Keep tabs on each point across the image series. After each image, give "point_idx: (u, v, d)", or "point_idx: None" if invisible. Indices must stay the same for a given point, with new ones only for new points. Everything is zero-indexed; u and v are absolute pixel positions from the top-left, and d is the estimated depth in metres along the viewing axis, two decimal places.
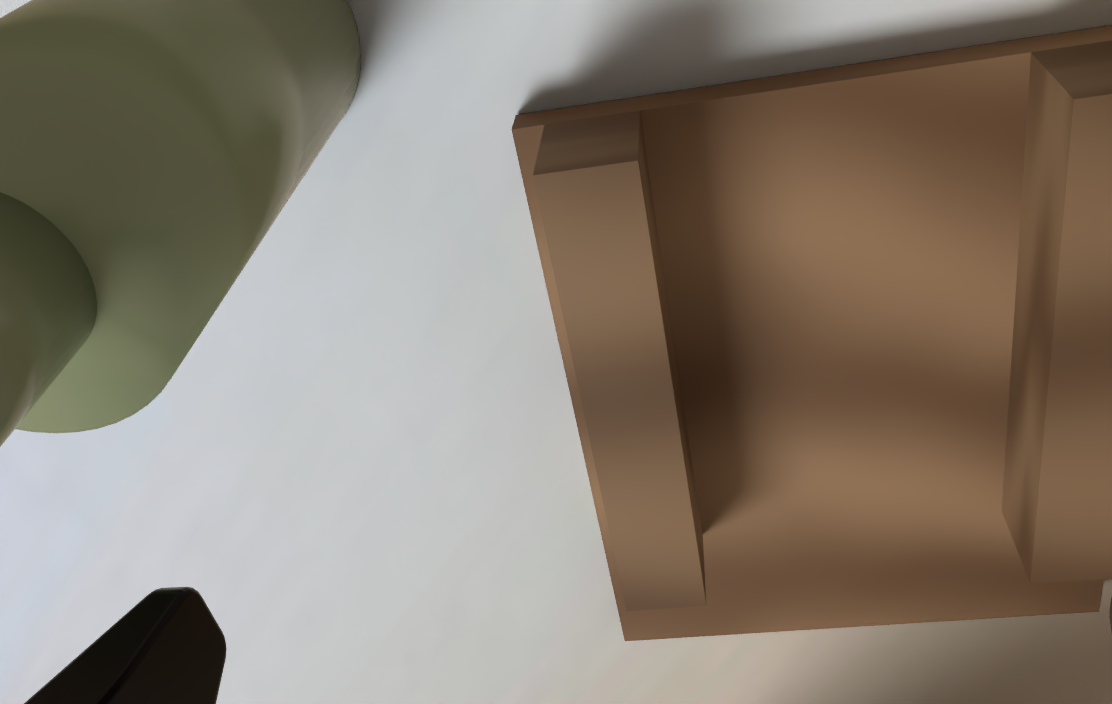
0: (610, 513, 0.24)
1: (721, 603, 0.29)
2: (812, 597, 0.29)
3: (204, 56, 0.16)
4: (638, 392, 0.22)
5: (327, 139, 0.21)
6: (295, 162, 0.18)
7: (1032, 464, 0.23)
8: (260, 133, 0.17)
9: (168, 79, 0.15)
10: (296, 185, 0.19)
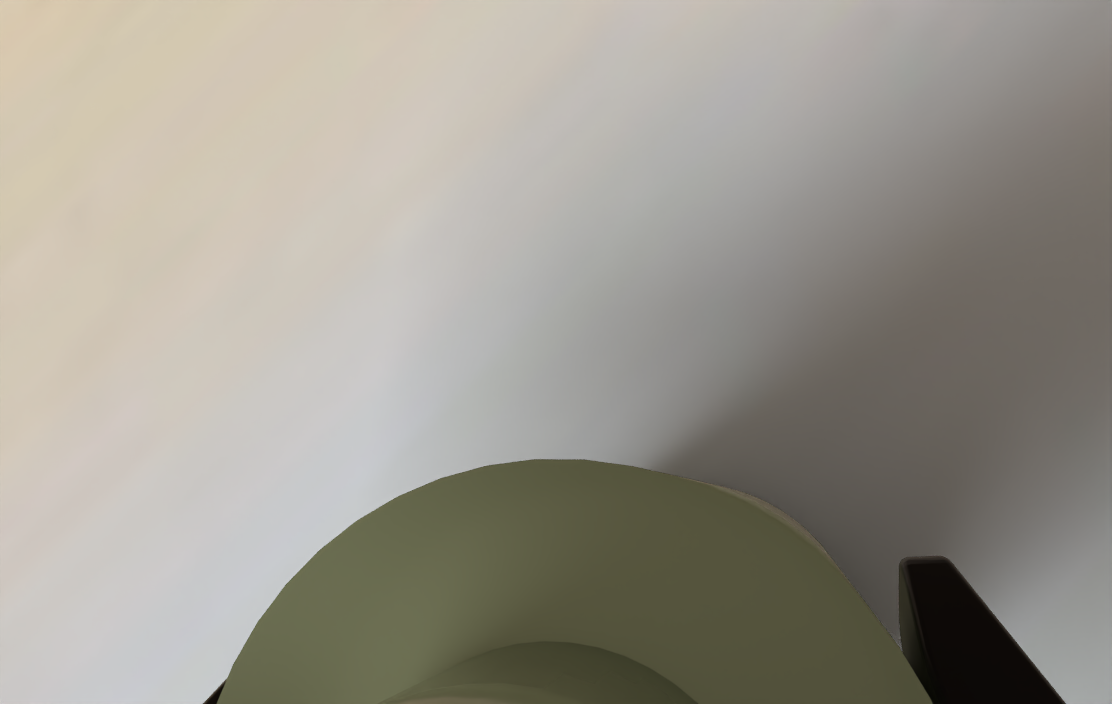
0: None
1: None
2: None
3: None
4: None
5: None
6: None
7: None
8: None
9: None
10: None
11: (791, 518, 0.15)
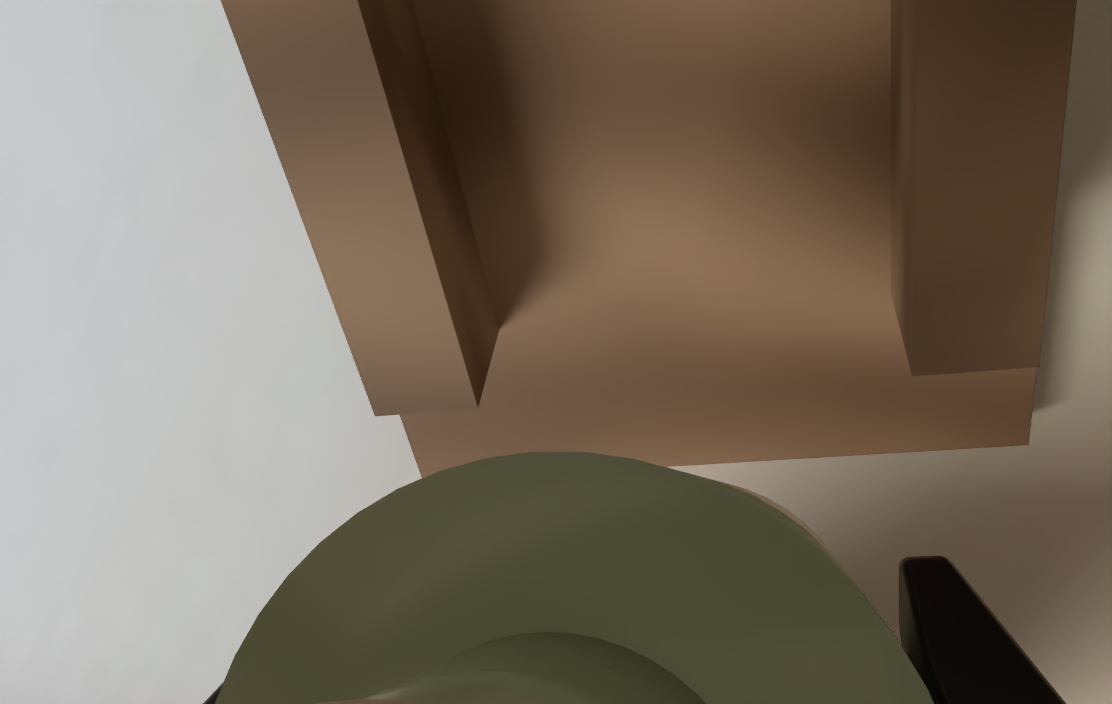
0: (326, 265, 0.18)
1: (536, 429, 0.23)
2: (651, 421, 0.22)
3: None
4: (326, 63, 0.15)
5: None
6: None
7: (909, 190, 0.16)
8: None
9: None
10: None
11: (792, 514, 0.15)
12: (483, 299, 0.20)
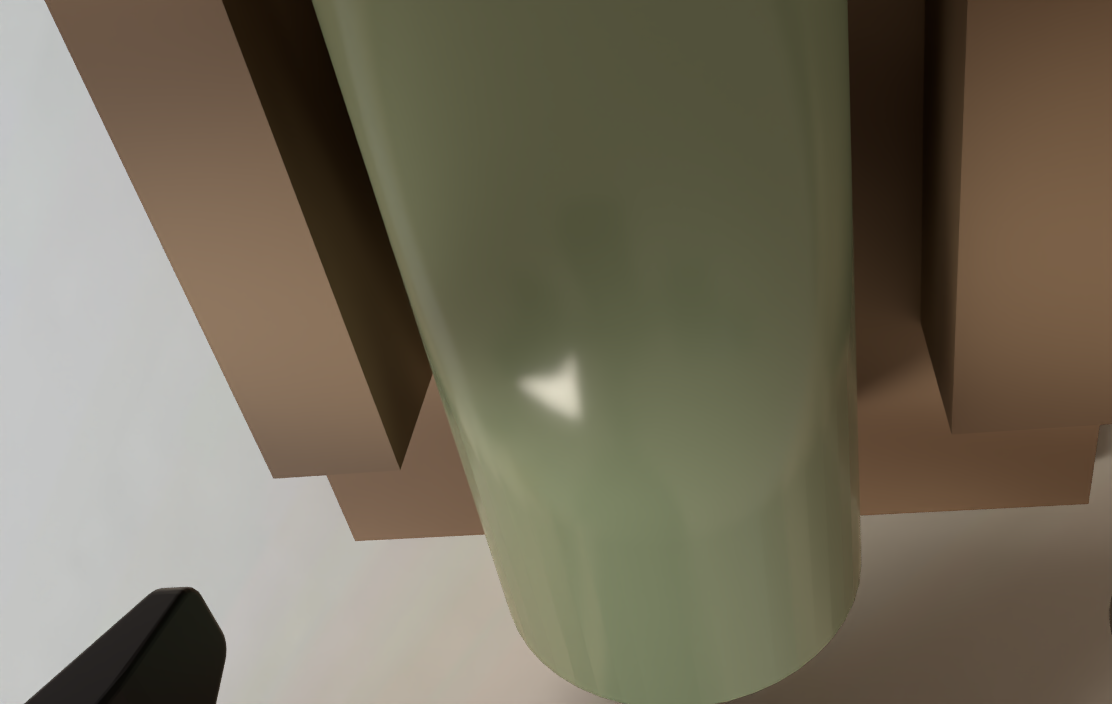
0: (194, 293, 0.14)
1: None
2: None
3: None
4: (166, 28, 0.11)
5: (813, 565, 0.13)
6: (844, 309, 0.11)
7: (950, 195, 0.12)
8: None
9: None
10: (812, 403, 0.11)
11: None
12: (411, 330, 0.16)
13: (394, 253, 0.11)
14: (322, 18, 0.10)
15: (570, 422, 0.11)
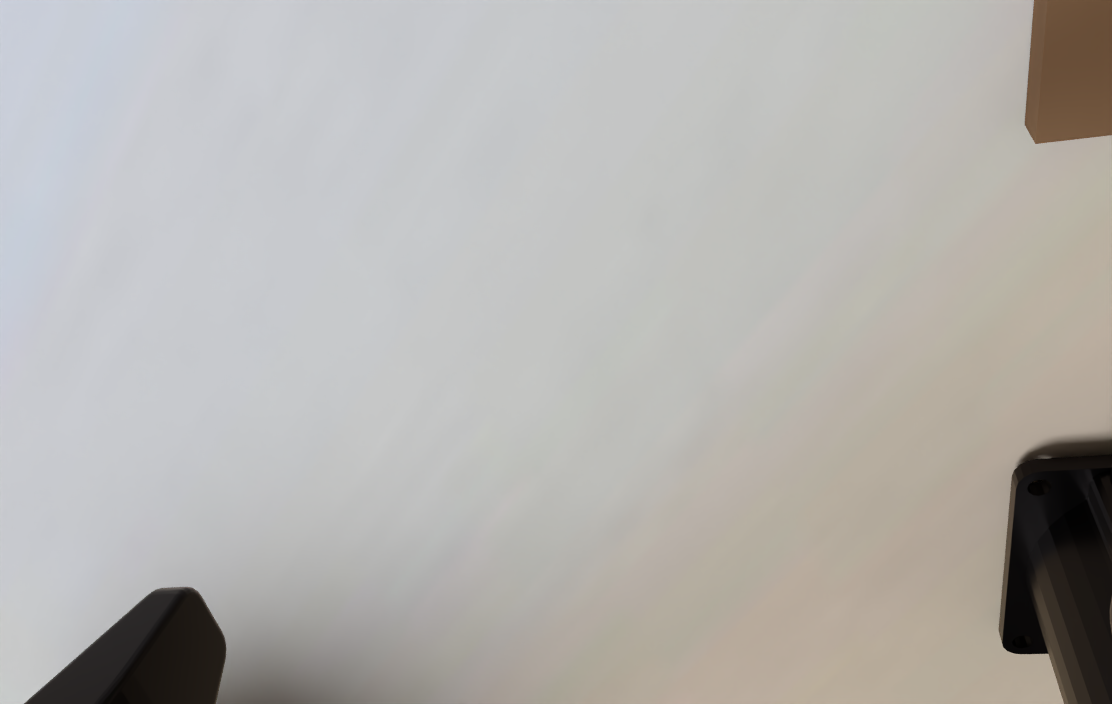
0: None
1: None
2: None
3: None
4: None
5: None
6: None
7: None
8: None
9: None
10: None
11: None
12: None
13: None
14: None
15: None
